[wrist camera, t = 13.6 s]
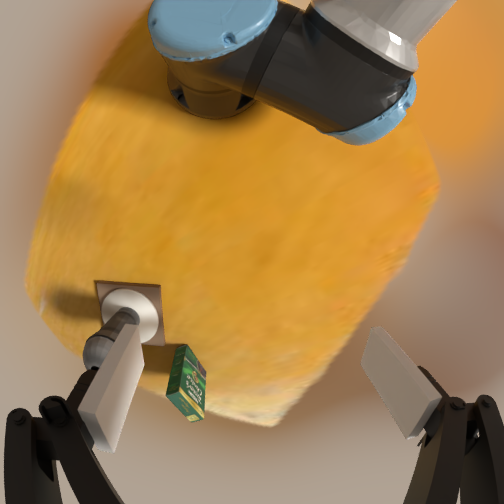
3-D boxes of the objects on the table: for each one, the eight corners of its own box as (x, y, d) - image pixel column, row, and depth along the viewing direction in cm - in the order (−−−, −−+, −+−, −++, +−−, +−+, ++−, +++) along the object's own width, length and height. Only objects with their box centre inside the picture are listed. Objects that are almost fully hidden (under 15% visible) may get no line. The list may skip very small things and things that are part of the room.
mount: (99, 280, 45) (94, 284, 44) (160, 285, 47) (158, 289, 45) (108, 336, 49) (105, 341, 47) (165, 342, 50) (163, 348, 48)
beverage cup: (129, 292, 44) (80, 363, 25) (155, 324, 46) (123, 405, 27) (102, 311, 45) (52, 380, 26) (127, 341, 47) (91, 417, 28)
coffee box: (208, 372, 52) (205, 420, 40) (196, 376, 53) (190, 424, 40) (188, 343, 50) (179, 390, 38) (175, 348, 50) (163, 394, 38)
